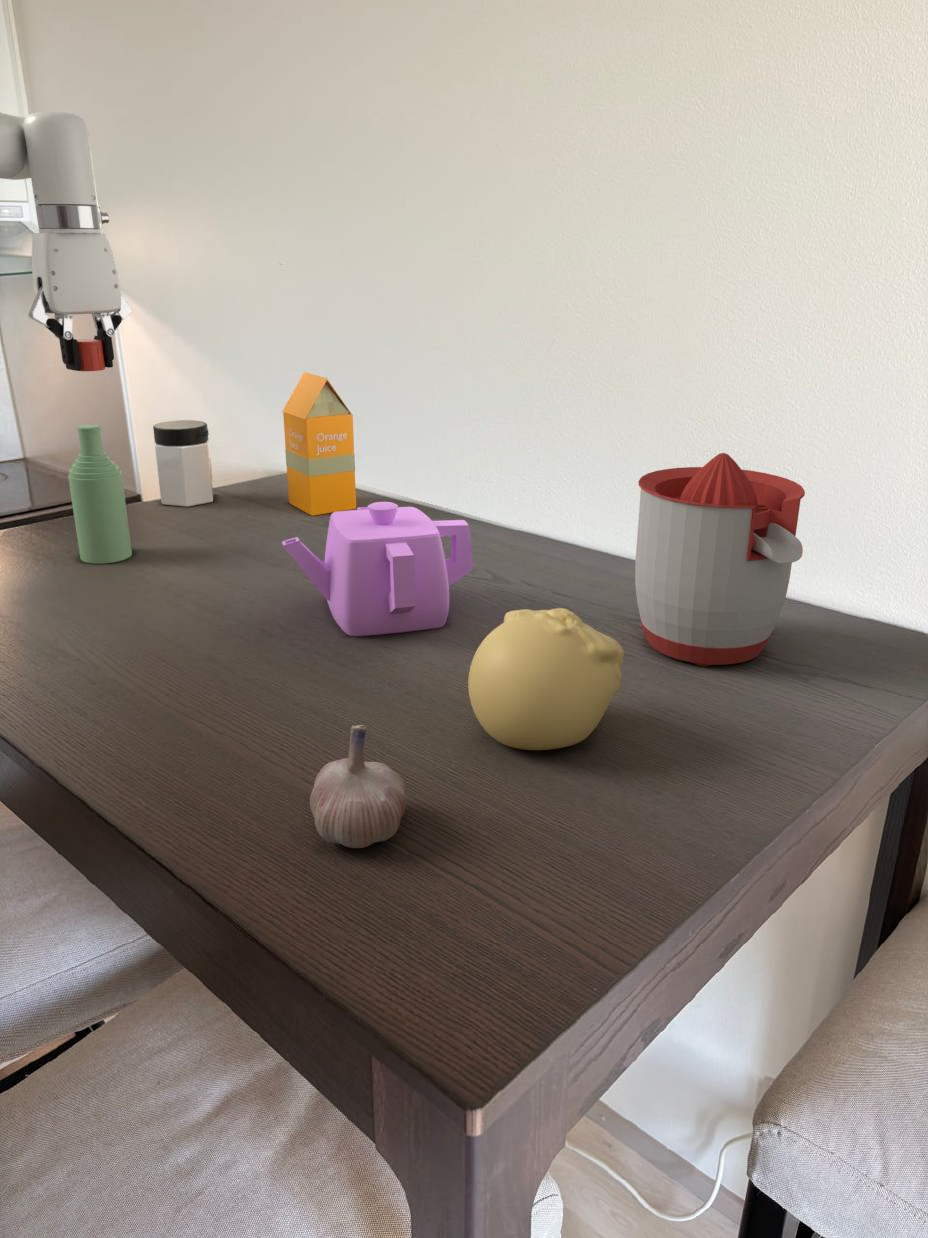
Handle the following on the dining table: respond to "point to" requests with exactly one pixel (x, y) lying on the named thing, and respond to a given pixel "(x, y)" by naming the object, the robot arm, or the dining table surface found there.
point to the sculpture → (543, 679)
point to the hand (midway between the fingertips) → (89, 366)
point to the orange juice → (319, 448)
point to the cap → (91, 355)
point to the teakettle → (386, 568)
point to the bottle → (98, 502)
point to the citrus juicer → (714, 559)
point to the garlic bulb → (357, 798)
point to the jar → (183, 462)
